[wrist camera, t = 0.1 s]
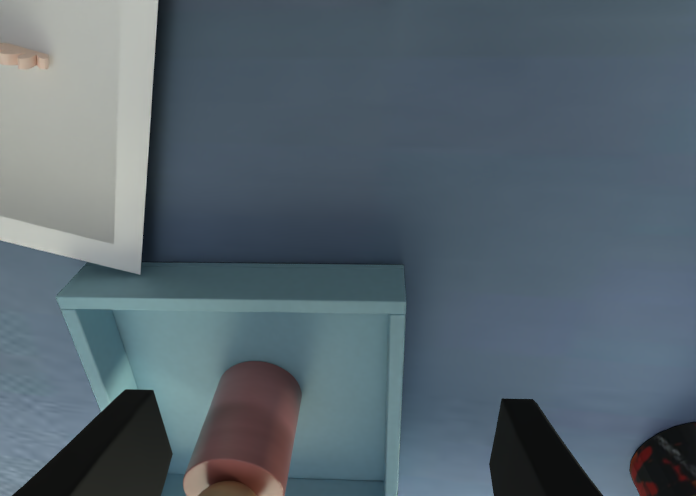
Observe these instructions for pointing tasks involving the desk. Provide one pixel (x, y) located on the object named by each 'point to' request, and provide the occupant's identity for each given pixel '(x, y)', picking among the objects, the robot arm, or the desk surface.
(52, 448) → the desk surface
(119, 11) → the touchpad
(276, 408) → the peg doll
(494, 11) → the desk surface
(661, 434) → the deodorant
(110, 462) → the robot arm
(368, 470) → the baking pan
